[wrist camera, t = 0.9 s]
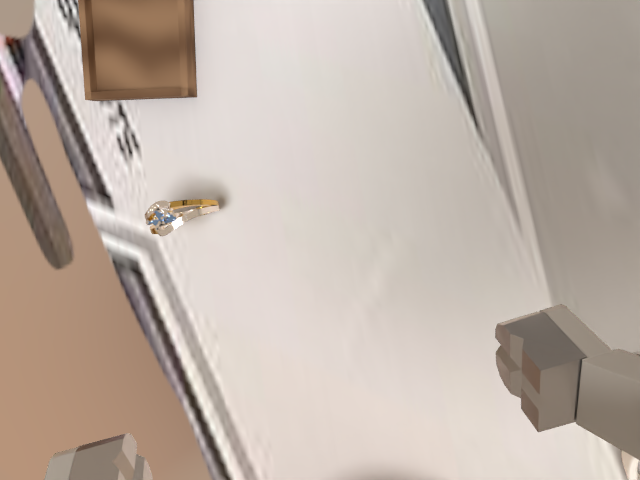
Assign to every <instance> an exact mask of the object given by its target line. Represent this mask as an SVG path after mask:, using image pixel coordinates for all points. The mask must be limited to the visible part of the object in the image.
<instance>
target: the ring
mask: <svg viewBox="0 0 640 480" xmlns="http://www.w3.org/2000/svg"><path fill="white" fill-rule="evenodd" d="M190 206H202V207H198V208H196V209H192V210H187V211H183V212H178V213H173V210H175V209H179V208H184V207H190ZM162 208H167V210H166V209H163V210H160V209H162ZM219 210H220V209H219V203H218V201H216V200H203V199H199V200H182V201H173V202H167V201H158V202H156V203H154V204H153V205H152V206H151V207H150V208H149V209H148V211H147V212H146V214H145V219H146V224H147V225H150V224H153V225H152V226H151V227H150V230H151V233H152V234H159V235H160V236H165V235H167V234H169V233H170V232H171V231H173V230H174V229H175V228H177V227H178V226H180V225H181V224H183V223H184V222H186V221H188V220H190V219H192V218H194V217H197V216H200V215H205V214H208V213H212V212H216V211H219ZM155 215H156V217H154V216H155ZM170 223H171V224H170ZM168 224H170V225H169V226H167V227H166V228H164V226H166V225H168Z"/></svg>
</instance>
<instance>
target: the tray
mask: <svg viewBox="0 0 640 480" xmlns="http://www.w3.org/2000/svg"><path fill="white" fill-rule="evenodd" d="M78 3H79V17H80V31H81V46H82V60H83V74H84V88H85V100H92V101H107V100H134V99H160V98H187V97H197V89H196V62H195V34H194V7H193V0H78Z"/></svg>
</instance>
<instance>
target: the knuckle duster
mask: <svg viewBox="0 0 640 480" xmlns="http://www.w3.org/2000/svg"><path fill="white" fill-rule="evenodd" d="M621 457H622V462H623V465H624V469H625V472H626V475H627V479H628V480H640V474H639V473H638V471H637V467H638V462H639V460H638V459H636V458H635V457H633V456H631V455H629V454H628V453H626V452H624V451H623V450H622V451H621Z"/></svg>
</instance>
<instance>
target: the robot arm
mask: <svg viewBox="0 0 640 480" xmlns="http://www.w3.org/2000/svg"><path fill="white" fill-rule="evenodd" d="M495 338H496V339H497V340H498V342H499V343H500V344H501V345H500V347H499V348H498V350H497V351H496V364H497V367H498V371H499V374H500V377H501V379H502V381H503V383H504V385H505V386H506V388H507V389H508V390H509V392H510V393H511V394H513V395H515V396H517V397H520V398H521V409H522V410H523V412H524V413H525V415H526V416H527V417H528V419H529V420H530V422H531V423H532V424H533V426H534V427H535V429H536V430H537V431H538V432H541V431H544V430H548V429H551V428H555V427H559V426H562V425H566V424H569V423H573V422H576V424H577V425H579V426H581V427H583V428H584V429H586V430H588V431H590V432H591V433H593V434H595V435H597V436H598V437H600V438H602V439H603V440H605V441H607V442H609V443H610V444H612V445H614V446H616V447H617V448H619V449H621V450H623V451H624V452H626V453H628V454H629V455H631V456H633V457H635V458H636V459H638V460H640V356H638V355H635V354H632V353H629V352H627V351H624V350H621V349H616V350H611V349H610V348H609V347H608V346H607V345H606V344H605V343H604V342H603V341H602V340H601V339H600V338H599V337H598V336H597V335H595V334H594V333H593V332H592V331H591V330H590V329H589V328H588V327H587V326H586V325H585V324H584V323H583V322H582V321H581V320H580V319H579V318H578V317H577V316H576V315H575V314H574V313H573V312H571V311H570V310H569V309H568V308H567V307H566V306H564V305H561V304H560V305H557V306H554V307H551V308H547V309H544V310H541V311H539V312H534V313H531V314H528V315H524V316H521V317H518V318H515V319H511V320H508V321H505V322H502V323H498V324H497V326H496V329H495ZM136 449H137V443H136V442H135V440H134V438H133V437H132V435H131V434H123V435H119V436H115V437H112V438H108V439H104V440H100V441H97V442H93V443H89V444H86V445H82V446H79V447H76V448H73V449H69V450H65V451H62V452H58V453H55V454H54V455H53V457H52V458H51V459H50V461H49V465H48V468H47V472H46V476H45V479H44V480H153V479H152V474H151V471H150V468H149V465H148V463H147V461H146V459H145V458H144V457H142V456H139V455H137V454H136Z"/></svg>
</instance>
